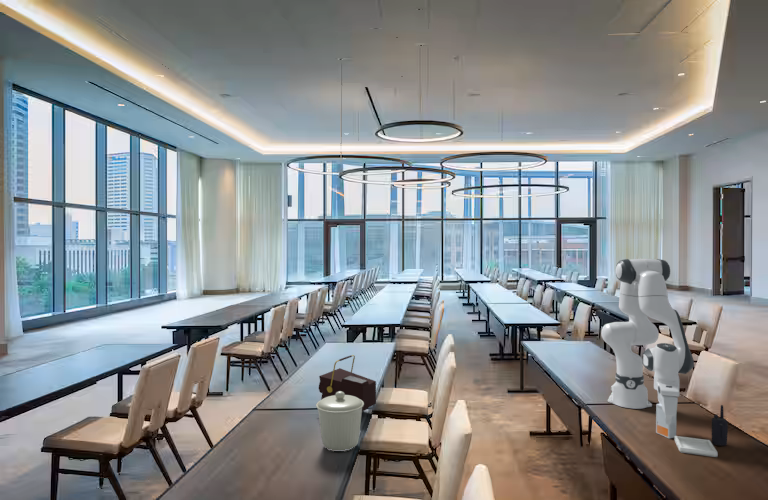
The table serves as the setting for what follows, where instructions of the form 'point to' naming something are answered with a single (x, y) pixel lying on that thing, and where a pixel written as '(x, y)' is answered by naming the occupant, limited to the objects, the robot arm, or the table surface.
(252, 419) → the table surface
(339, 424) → the canister
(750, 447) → the table surface
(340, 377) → the brown box with handle
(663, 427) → the skincare box
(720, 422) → the two-way radio
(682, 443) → the tray
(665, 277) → the robot arm
